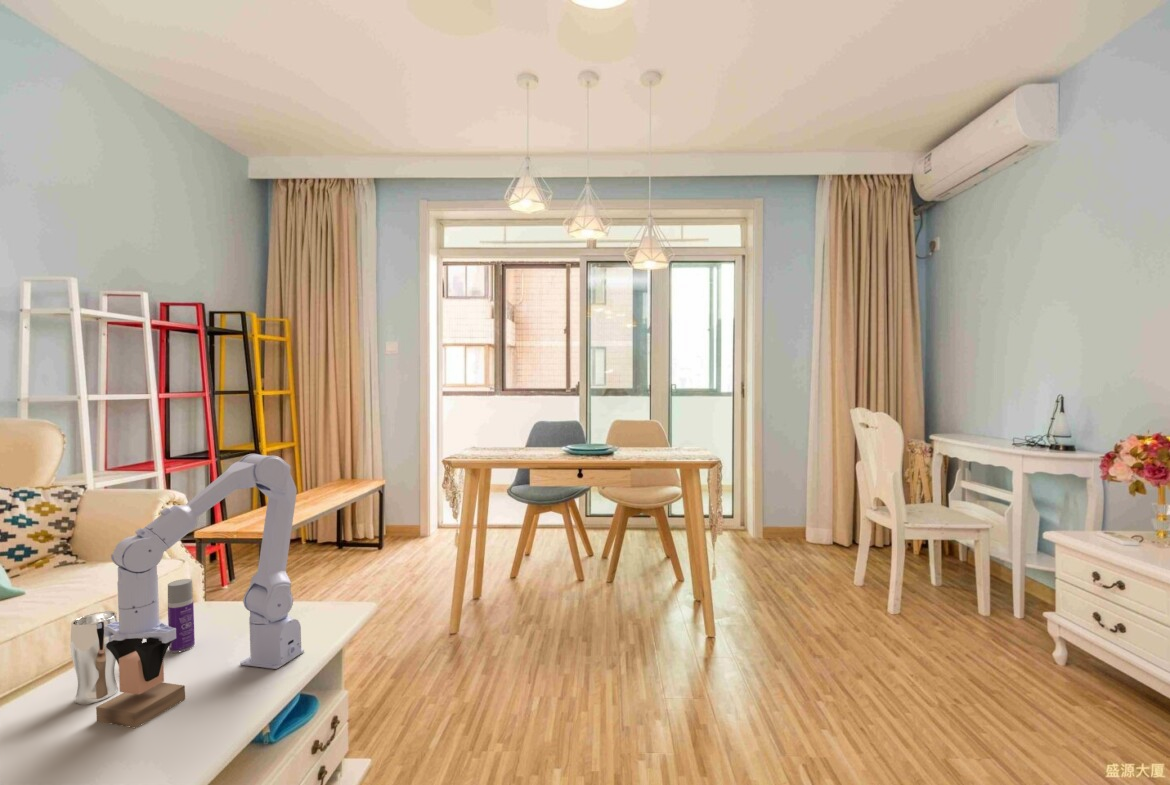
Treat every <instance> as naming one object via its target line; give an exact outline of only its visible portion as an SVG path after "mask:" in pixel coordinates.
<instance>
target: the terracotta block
mask: <svg viewBox="0 0 1170 785" xmlns="http://www.w3.org/2000/svg"><path fill="white" fill-rule="evenodd" d="M164 671H165V670H164V661H163V662H162V665H161V669H160V673H159V676H158V677H156V678H154V679H152V680H150V681H148V682H147V681H145V679H144V676H143V670H142V663H141V660H140V657H139V655H138V653H137V652H136V651H134V652H132V653H130V654H128V655H125V656H123V657H121V658H119V665H118V678H119V680H118V681H119V692H120V693H124V692H125V693H132V694H141V693H143V692H145V691H147V690H149V689H150V688H152V687H154V686H156V685H158V684H160V683H162V682H163V683H165V675H164V674H165V673H164Z"/></svg>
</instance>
